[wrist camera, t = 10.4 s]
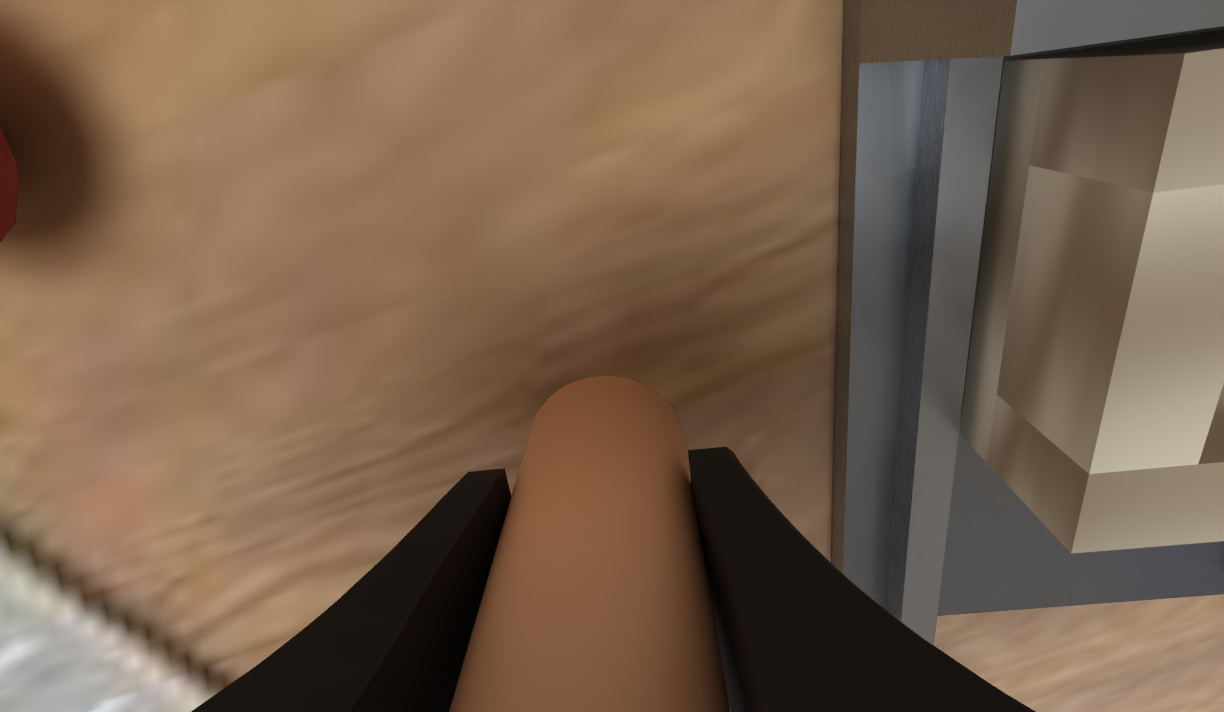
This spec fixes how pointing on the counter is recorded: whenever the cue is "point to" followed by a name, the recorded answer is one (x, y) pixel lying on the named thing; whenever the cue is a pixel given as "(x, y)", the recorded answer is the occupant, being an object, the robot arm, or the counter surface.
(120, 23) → the counter surface
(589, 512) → the dowel
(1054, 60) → the sliding block
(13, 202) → the onion
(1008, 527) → the slide base
